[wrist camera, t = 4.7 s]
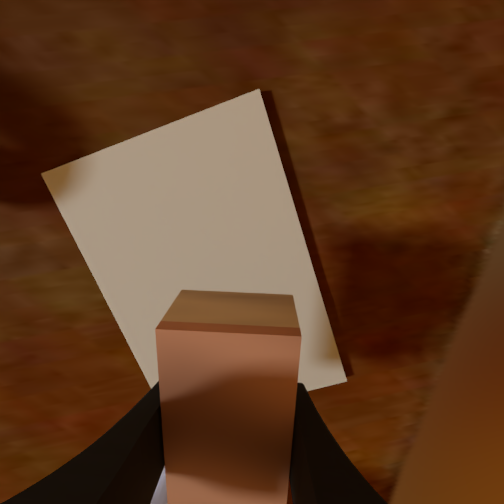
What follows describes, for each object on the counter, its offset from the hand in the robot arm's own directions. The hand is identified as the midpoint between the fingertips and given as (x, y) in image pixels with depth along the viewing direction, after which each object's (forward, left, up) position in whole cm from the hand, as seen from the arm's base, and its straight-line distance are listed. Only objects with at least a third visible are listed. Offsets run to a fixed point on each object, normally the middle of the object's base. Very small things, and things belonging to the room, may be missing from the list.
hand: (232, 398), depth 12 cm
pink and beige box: (0, 0, -1) cm, 1 cm away
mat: (+2, +2, -9) cm, 9 cm away
